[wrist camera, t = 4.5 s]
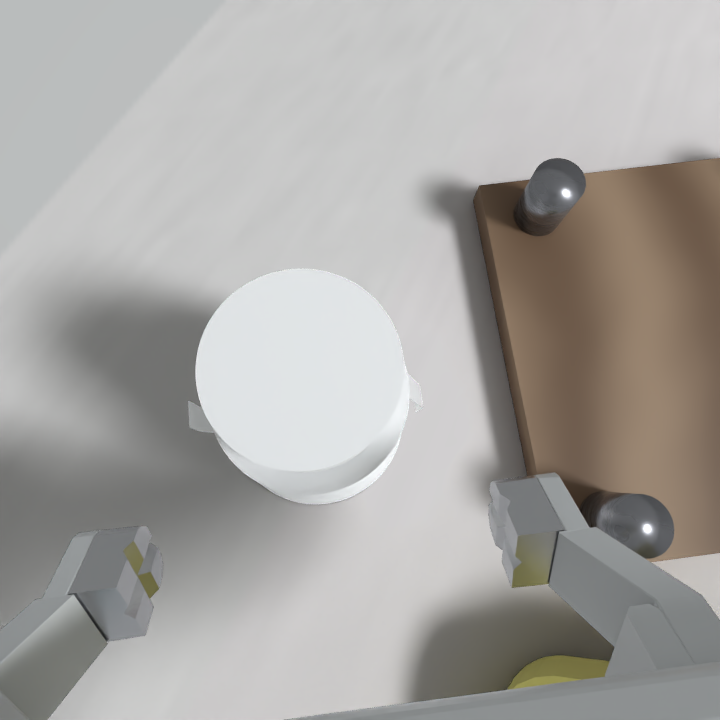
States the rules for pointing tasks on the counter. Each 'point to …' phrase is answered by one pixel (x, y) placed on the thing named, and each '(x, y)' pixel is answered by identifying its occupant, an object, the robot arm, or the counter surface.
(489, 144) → the counter surface
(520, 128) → the counter surface
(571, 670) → the plastic component
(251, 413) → the recessed downlight
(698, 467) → the pin board
